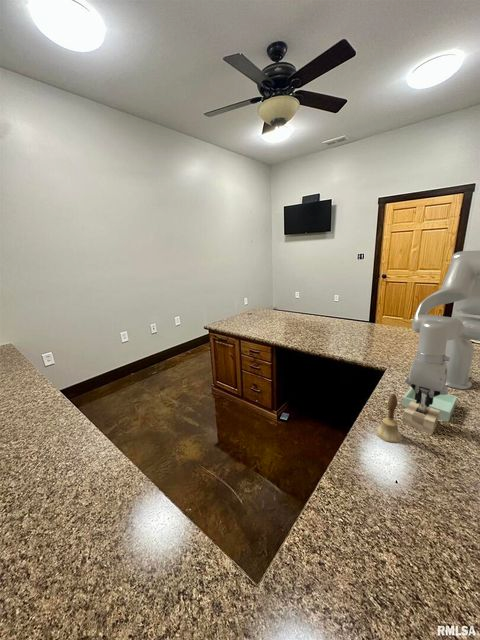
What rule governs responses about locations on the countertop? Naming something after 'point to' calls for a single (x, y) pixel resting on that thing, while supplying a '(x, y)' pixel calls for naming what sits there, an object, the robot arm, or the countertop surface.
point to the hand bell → (389, 424)
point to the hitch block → (421, 418)
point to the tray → (435, 403)
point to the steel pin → (423, 400)
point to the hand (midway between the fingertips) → (423, 403)
